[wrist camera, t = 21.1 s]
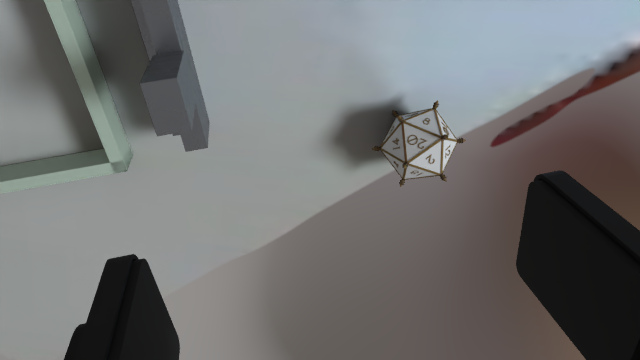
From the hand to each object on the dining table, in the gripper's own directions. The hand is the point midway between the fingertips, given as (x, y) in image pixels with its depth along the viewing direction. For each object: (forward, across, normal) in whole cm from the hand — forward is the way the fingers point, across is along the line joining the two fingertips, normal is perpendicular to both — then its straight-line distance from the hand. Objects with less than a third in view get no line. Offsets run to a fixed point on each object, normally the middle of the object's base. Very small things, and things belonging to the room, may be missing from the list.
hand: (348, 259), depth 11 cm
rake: (+36, +8, +4) cm, 37 cm away
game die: (+36, -14, +16) cm, 42 cm away
